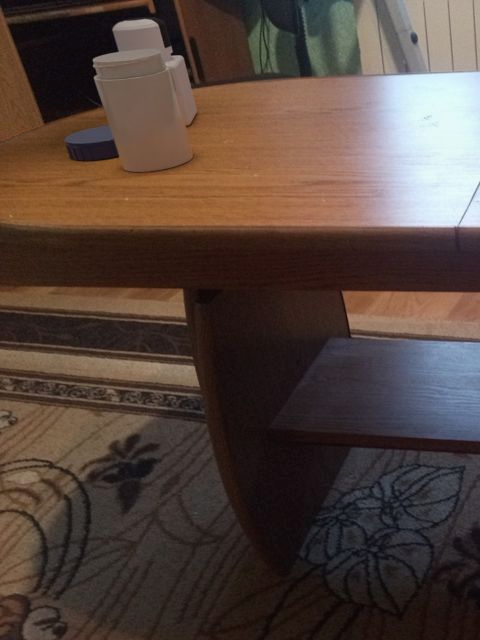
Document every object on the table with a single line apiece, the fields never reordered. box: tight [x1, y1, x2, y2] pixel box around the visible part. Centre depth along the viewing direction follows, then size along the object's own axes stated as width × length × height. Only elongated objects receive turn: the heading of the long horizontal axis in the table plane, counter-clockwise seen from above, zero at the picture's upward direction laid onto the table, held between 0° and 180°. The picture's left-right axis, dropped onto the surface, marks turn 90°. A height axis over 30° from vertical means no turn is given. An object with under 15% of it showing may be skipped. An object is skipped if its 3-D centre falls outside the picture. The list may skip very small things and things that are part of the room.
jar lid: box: [64, 124, 119, 162], centre depth 82 cm, size 8×8×2 cm
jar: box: [92, 49, 194, 173], centre depth 75 cm, size 7×7×11 cm
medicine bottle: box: [111, 16, 198, 127], centre depth 89 cm, size 7×7×12 cm
